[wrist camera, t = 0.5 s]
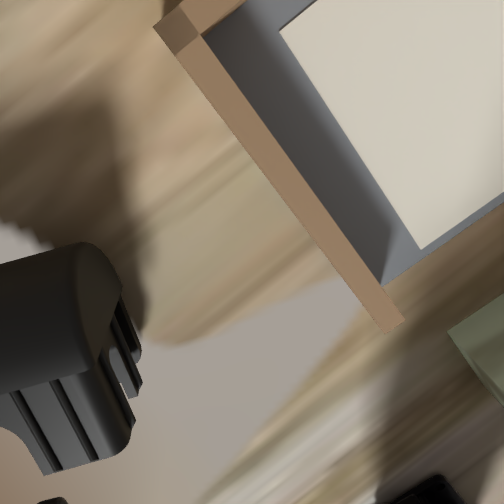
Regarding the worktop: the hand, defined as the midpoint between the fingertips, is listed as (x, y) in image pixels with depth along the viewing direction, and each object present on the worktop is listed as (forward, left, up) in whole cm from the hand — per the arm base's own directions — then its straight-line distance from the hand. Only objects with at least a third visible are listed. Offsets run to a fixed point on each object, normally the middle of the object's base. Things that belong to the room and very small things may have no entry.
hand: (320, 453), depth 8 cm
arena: (+1, -9, -13) cm, 16 cm away
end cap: (+3, +10, -13) cm, 17 cm away
